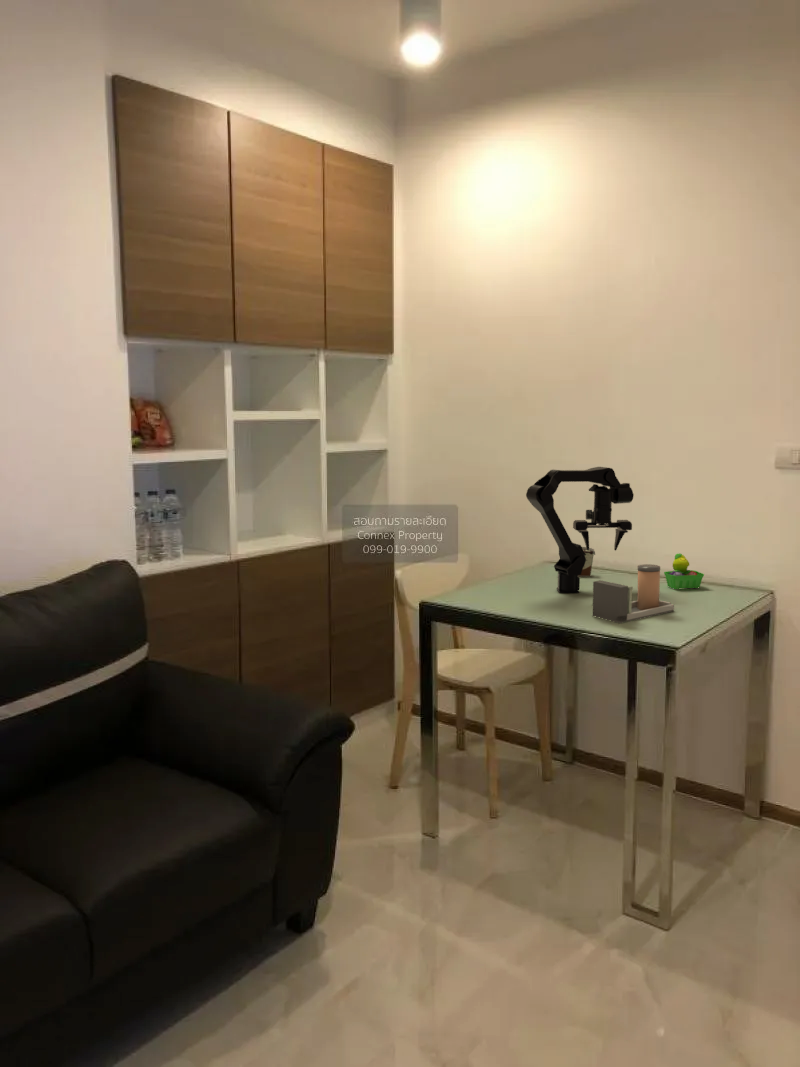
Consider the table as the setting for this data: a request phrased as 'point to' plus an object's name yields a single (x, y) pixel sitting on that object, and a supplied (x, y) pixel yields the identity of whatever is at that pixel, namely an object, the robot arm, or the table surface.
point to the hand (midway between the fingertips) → (601, 550)
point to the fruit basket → (682, 574)
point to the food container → (587, 562)
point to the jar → (648, 586)
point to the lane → (620, 603)
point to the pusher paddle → (629, 598)
